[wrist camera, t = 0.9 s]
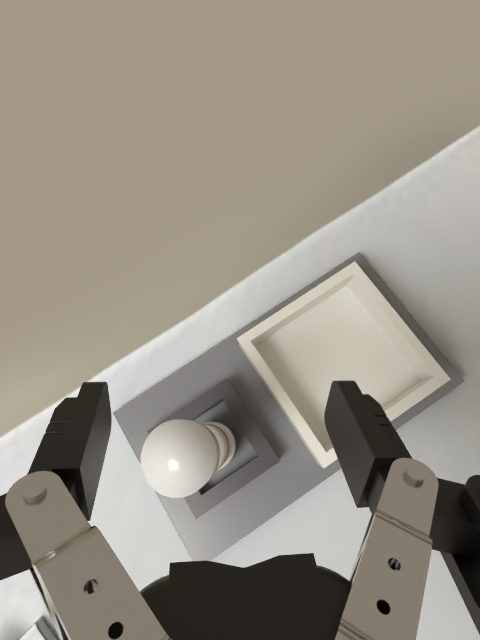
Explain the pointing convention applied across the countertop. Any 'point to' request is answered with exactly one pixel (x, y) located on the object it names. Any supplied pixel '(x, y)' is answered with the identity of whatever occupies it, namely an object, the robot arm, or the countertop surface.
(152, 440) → the white capped peg
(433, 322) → the countertop surface
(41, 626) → the hard drive
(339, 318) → the grey board with tray
